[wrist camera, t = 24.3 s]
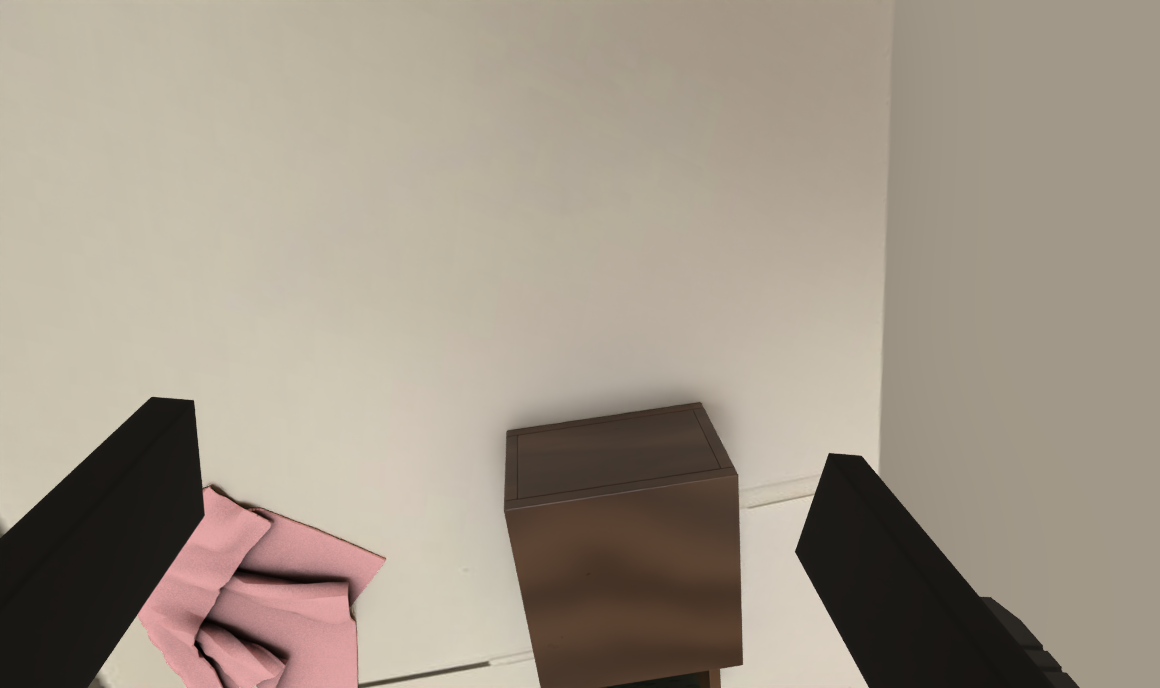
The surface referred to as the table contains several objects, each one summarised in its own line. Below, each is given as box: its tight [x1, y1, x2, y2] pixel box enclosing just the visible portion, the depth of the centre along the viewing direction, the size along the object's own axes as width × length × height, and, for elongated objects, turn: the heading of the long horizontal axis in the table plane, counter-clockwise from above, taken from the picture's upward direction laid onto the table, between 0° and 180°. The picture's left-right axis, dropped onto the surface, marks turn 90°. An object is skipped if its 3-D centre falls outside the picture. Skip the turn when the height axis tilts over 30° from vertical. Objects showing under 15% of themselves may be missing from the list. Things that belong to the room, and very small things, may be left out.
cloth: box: [138, 486, 386, 688], centre depth 49 cm, size 20×22×2 cm
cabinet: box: [504, 403, 743, 688], centre depth 45 cm, size 16×14×9 cm
